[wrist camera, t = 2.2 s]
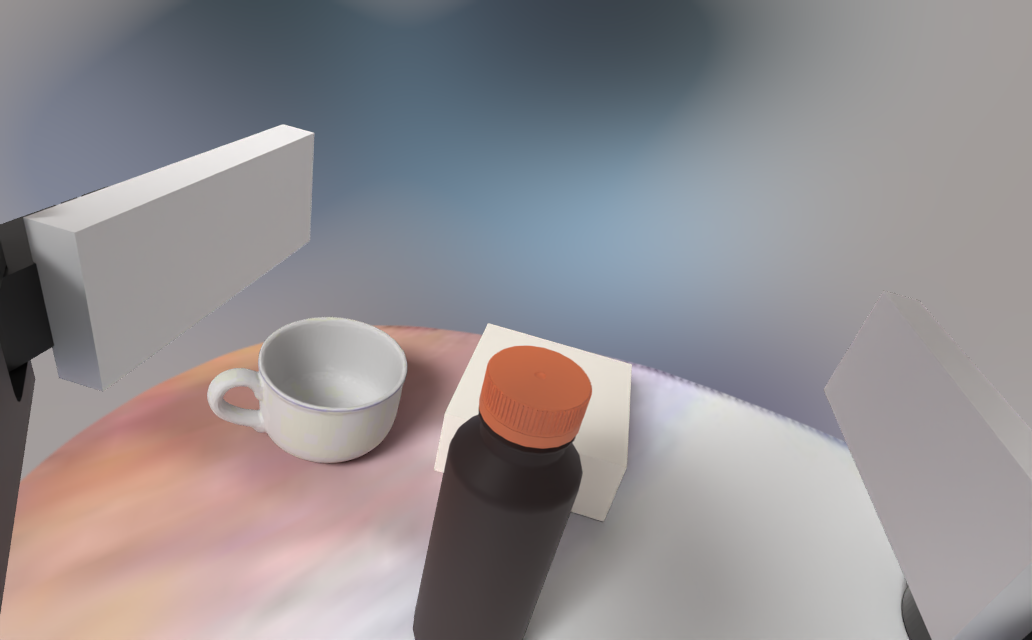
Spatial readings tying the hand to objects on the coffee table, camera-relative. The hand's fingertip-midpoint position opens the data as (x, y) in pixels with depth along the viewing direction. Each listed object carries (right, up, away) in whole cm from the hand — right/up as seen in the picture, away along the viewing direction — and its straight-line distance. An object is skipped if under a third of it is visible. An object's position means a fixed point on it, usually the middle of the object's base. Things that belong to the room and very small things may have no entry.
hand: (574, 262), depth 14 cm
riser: (0, -12, +39) cm, 41 cm away
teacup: (-18, -11, +34) cm, 40 cm away
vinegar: (-4, -21, +23) cm, 32 cm away
